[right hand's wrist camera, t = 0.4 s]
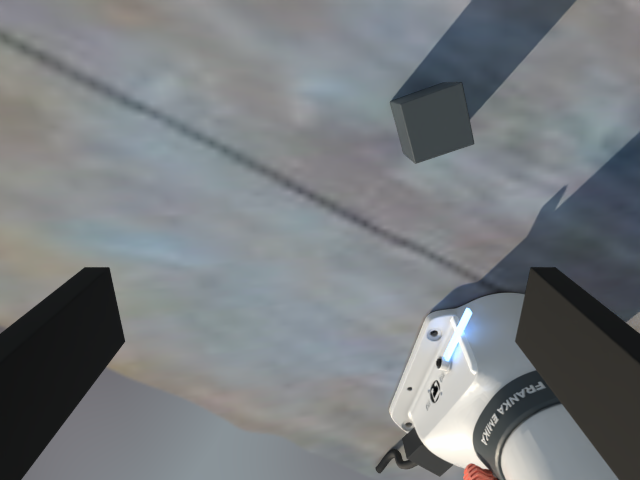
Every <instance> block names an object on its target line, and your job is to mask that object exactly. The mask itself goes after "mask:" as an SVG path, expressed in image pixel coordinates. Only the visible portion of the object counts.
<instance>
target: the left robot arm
mask: <svg viewBox="0 0 640 480" xmlns="http://www.w3.org/2000/svg"><path fill="white" fill-rule="evenodd" d="M524 296H525V294H520V293H497V294H491V295H487V296H484V297H481V298H478V299H476V300H473V301H471V302H469V303H467V304H465V305H463V306H461V307H458V308H455V309H446V310H439V311H435V312H432V313H430V314H429V315H428V316H427V317H426V319H425V321H424V323H423V326H422V328H421V331H420V333H419V336H418V338H417V341H416V343H415V346H414V348H413V351H412V353H411V356H410V358H409V361H408V363H407V366H406V368H405V371H404V373H403V376H402V378H401V381H400V383H399V386H398V388H397V391H396V393H395V396H394V398H393V401H392V403H391V406H390V409H389V412H390V414H391V417H392V419H393V420H394V422H395V423H396V424H397V425H398V426H399V427H400V428H401V429H403V430H404V431H405V432H407V433H408V434H407V435H406V436H404V437H403V438H402V440H403V444H404V448H405V453H406V457H407V459H408V460H407V461H403V459H402V456H401V453H400V452H399V451H398V450H391V451H389V452H388V453H387V454H386V455H385V456H384V458H383V459H382V460H381V462H380V463H379V464H378V466H377V467H376V471H377V472H378V473H381V472H382V471H383V470H384V468H385V467H386V466H387V464H388V463H389V462H390V460H391V459H393V458H394V457H395V461H396V464H397V465H398V466H399V468H401V469H410V468H413V467H415V466H417V465H419V466H421V467H423V468H425V469H427V470H429V471H430V472H432V473H434V474H436V475H438V476H441V475H442V474H443V473H445V472H446V471H447V470H448V469H449V468H450V467H451V466H452V465H456V466H459V467H462V468H465V471H464V474H465V475H464V480H619V479H618V478H617V477H616V475H615V474H614V473H613V471H612V470H611V469H610V467H609V466H608V465H607V463H606V462H605V461H604V459H603V458H602V457H601V455H600V454H599V453H598V451H597V450H596V449H595V447H594V446H593V445H592V443H591V442H590V441H589V439H588V438H587V437H586V435H585V434H584V433H583V431H582V430H581V429H580V427H579V426H578V425H577V423H576V422H575V421H574V419H573V418H572V417H571V415H570V414H569V413H568V411H567V410H566V409H565V407H564V406H563V405H562V404H561V402H560V401H559V400H558V398H557V397H556V396H555V394H554V393H553V392H552V390H551V389H550V388H549V386H548V385H547V384H546V382H545V381H544V380H543V378H542V377H541V376H540V374H539V373H538V372H537V370H536V369H535V368H534V366H533V365H532V364H531V362H530V361H529V360H528V358H527V357H526V356H525V354H524V353H523V352H522V350H521V349H520V348H519V346H518V345H517V344H516V342H515V339H516V334H517V329H518V325H519V320H520V315H521V311H522V306H523V301H524ZM433 330H436V332H434V333H431V331H433ZM407 422H409V423H407ZM493 475H494V476H493Z"/></svg>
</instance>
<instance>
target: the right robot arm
mask: <svg viewBox="0 0 640 480" xmlns="http://www.w3.org/2000/svg"><path fill="white" fill-rule="evenodd" d="M124 342H125V339H124V334H123V329H122V325H121V320H120V315H119V311H118V306H117V301H116V296H115V292H114V287H113V282H112V278H111V273H110V268H109V267H85V268H83V269H82V270H81V271H80V272H78V273H77V274H76V275H74V276H73V277H72V278H71V279H69V280H68V281H67V282H66V283H64V284H63V285H62V286H60V287H59V288H58V289H57V290H55V291H54V292H53V293H52V294H50V295H49V296H48V297H46V298H45V299H44V300H43V301H41V302H40V303H39V304H38V305H36V306H35V307H34V308H32V309H31V310H30V311H29V312H27V313H26V314H25V315H24V316H22V317H21V318H20V319H18V320H17V321H16V322H15V323H13V324H12V325H11V326H10V327H8V328H7V329H6V330H5V331H3V332H2V333H1V334H0V480H21V479H22V478H23V477H24V475H25V474H26V473H27V471H28V470H29V469H30V467H31V466H32V465H33V463H34V462H35V461H36V459H37V458H38V457H39V455H40V454H41V453H42V451H43V450H44V449H45V447H46V446H47V445H48V443H49V442H50V441H51V439H52V438H53V437H54V435H55V434H56V433H57V431H58V430H59V429H60V427H61V426H62V425H63V423H64V422H65V421H66V419H67V418H68V417H69V415H70V414H71V413H72V411H73V410H74V409H75V407H76V406H77V405H78V404H79V402H80V401H81V399H82V398H83V397H84V396H85V394H86V393H87V392H88V390H89V389H90V388H91V386H92V385H93V384H94V382H95V381H96V380H97V378H98V377H99V376H100V374H101V373H102V372H103V370H104V369H105V368H106V366H107V365H108V364H109V362H110V361H111V360H112V358H113V357H114V356H115V354H116V353H117V352H118V350H119V349H120V348H121V346H122V345H123V344H124ZM515 342H516V344H517V345H518V346H519V348H520V349H521V350H522V352H523V353H524V354H525V356H526V357H527V358H528V360H529V361H530V362H531V364H532V365H533V366H534V368H535V369H536V370H537V372H538V373H539V374H540V376H541V377H542V378H543V380H544V381H545V382H546V384H547V385H548V386H549V388H550V389H551V390H552V392H553V393H554V394H555V396H556V397H557V398H558V400H559V401H560V402H561V404H562V405H563V406H564V407H565V409H566V410H567V411H568V413H569V414H570V415H571V417H572V418H573V419H574V421H575V422H576V423H577V425H578V426H579V427H580V429H581V430H582V431H583V433H584V434H585V435H586V437H587V438H588V439H589V441H590V442H591V443H592V445H593V446H594V447H595V449H596V450H597V451H598V453H599V454H600V455H601V457H602V458H603V459H604V461H605V462H606V463H607V465H608V466H609V467H610V469H611V470H612V471H613V473H614V474H615V475H616V477H617V478H618V479H619V480H640V334H639V333H638V332H637V331H636V330H634V329H633V328H632V327H630V326H629V325H628V324H627V323H625V322H624V321H623V320H622V319H620V318H619V317H618V316H616V315H615V314H614V313H613V312H611V311H610V310H609V309H608V308H606V307H605V306H604V305H602V304H601V303H600V302H599V301H597V300H596V299H595V298H594V297H592V296H591V295H590V294H588V293H587V292H586V291H585V290H583V289H582V288H581V287H580V286H578V285H577V284H576V283H574V282H573V281H572V280H571V279H569V278H568V277H567V276H566V275H564V274H563V273H562V272H560V271H559V270H558V269H557V268H555V267H531V268H530V273H529V278H528V282H527V287H526V292H525V296H524V301H523V306H522V311H521V315H520V320H519V325H518V329H517V334H516V339H515Z"/></svg>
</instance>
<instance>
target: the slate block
mask: <svg viewBox="0 0 640 480" xmlns="http://www.w3.org/2000/svg"><path fill="white" fill-rule="evenodd" d="M390 105H391V108H392V112H393V116H394V120H395V124H396V127H397V131H398V135H399V139H400V142H401V146H402V150H403V154H404V155H406V156H407V157H408V158H409V159H410V160H412V161H413V162H414V163H415V164H416V163H419V162H422V161H425V160H428V159H431V158H434V157H437V156H440V155H443V154H446V153H449V152H452V151H455V150H458V149H461V148H464V147H467V146H470V145H473V144H474V140H473V135H472V130H471V125H470V120H469V114H468V109H467V104H466V99H465V94H464V89H463V84H462V82H452V83H441V84H438V85H435V86H432V87H429V88H426V89H424V90H421V91H418V92H415V93H412V94H410V95H407V96H404V97H401V98H398V99H395V100H393V101H390Z"/></svg>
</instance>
